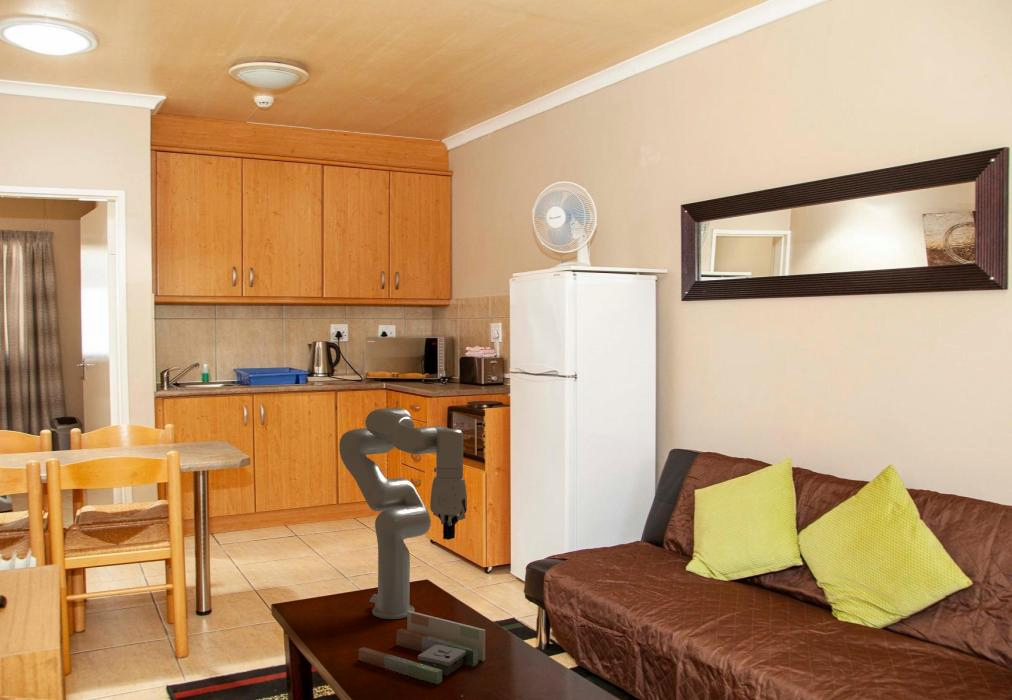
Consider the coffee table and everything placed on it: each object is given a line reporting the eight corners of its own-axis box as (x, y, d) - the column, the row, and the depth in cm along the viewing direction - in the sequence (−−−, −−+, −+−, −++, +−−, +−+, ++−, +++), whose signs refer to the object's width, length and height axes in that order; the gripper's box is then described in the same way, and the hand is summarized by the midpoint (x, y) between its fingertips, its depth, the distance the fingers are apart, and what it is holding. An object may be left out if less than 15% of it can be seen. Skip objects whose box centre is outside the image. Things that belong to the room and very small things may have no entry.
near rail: (358, 660, 222) (358, 649, 222) (363, 658, 224) (363, 647, 224) (436, 684, 208) (436, 672, 207) (441, 682, 209) (442, 669, 209)
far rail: (396, 644, 234) (396, 630, 234) (401, 642, 236) (401, 628, 236) (473, 666, 219) (473, 650, 219) (477, 664, 221) (477, 648, 221)
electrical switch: (449, 663, 212) (418, 649, 216) (445, 682, 212) (414, 668, 217) (468, 650, 220) (437, 637, 224) (464, 669, 221) (434, 656, 225)
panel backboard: (406, 640, 238) (407, 611, 238) (409, 639, 238) (409, 610, 238) (482, 661, 223) (483, 630, 223) (485, 660, 224) (485, 629, 224)
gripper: (420, 472, 244) (419, 537, 244) (462, 477, 235) (461, 545, 235) (437, 469, 250) (436, 532, 250) (478, 474, 241) (478, 539, 241)
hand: (448, 538), depth 243 cm, fingers closed
